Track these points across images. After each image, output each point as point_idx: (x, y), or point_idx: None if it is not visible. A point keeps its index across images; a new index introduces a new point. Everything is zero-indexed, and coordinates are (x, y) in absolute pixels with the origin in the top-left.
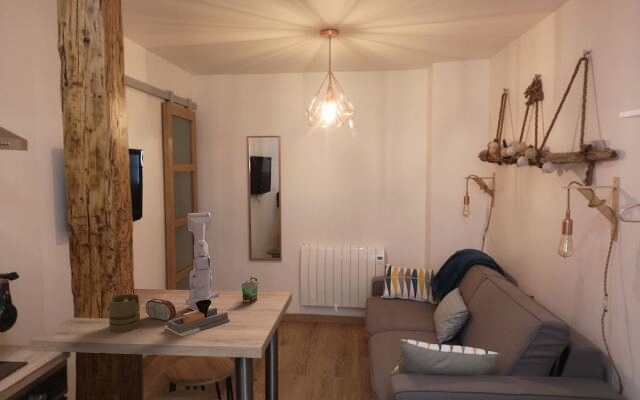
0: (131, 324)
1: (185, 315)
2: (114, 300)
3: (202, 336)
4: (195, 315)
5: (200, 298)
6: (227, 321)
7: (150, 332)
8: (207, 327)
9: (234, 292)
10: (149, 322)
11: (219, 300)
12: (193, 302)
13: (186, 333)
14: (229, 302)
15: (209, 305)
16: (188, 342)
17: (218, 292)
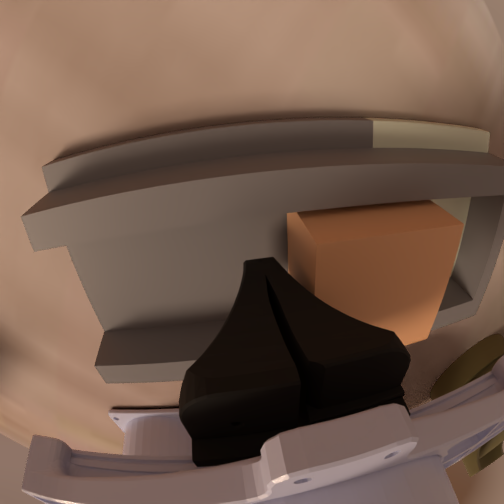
0: (498, 353)
1: (436, 307)
2: (498, 445)
3: (395, 11)
4: (409, 251)
5: (455, 442)
6: (68, 156)
7: (487, 290)
8: (290, 119)
9: (26, 445)
10: (415, 383)
11: (75, 440)
12: (460, 397)
13: (460, 127)
14: (35, 410)
15: (220, 344)
16: (481, 23)
17: (34, 497)
